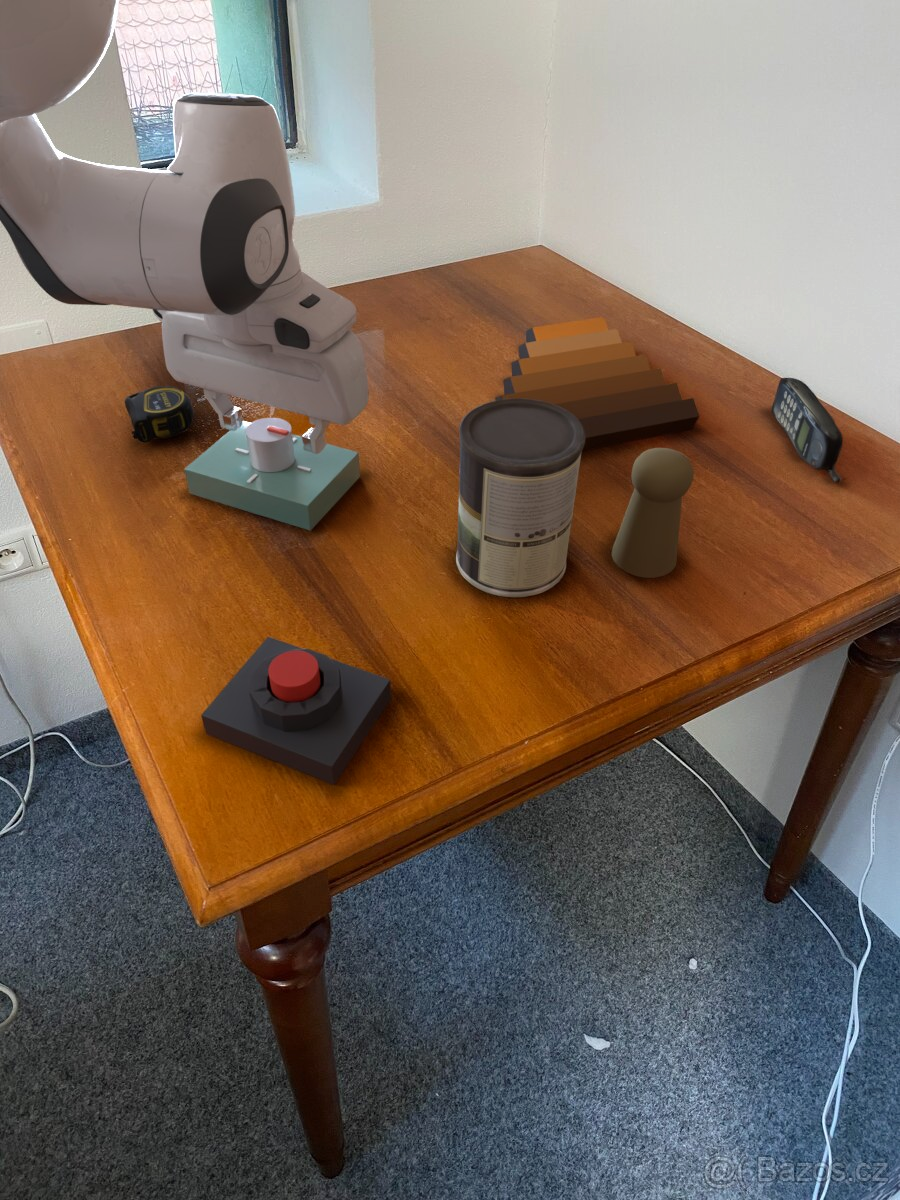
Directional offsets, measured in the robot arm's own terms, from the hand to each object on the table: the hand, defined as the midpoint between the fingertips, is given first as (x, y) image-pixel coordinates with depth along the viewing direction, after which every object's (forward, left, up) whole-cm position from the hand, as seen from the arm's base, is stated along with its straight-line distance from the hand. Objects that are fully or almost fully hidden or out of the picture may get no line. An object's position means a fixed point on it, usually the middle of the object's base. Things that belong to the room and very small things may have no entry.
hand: (273, 438), depth 85 cm
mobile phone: (+48, +31, -6) cm, 57 cm away
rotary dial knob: (0, 0, -3) cm, 3 cm away
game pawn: (+37, +5, -6) cm, 37 cm away
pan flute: (+19, +29, -6) cm, 35 cm away
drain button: (+18, -25, -2) cm, 31 cm away
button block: (+18, -25, -6) cm, 31 cm away
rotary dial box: (0, 0, -6) cm, 6 cm away
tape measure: (-17, +3, -6) cm, 18 cm away
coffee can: (+26, -1, -6) cm, 26 cm away
